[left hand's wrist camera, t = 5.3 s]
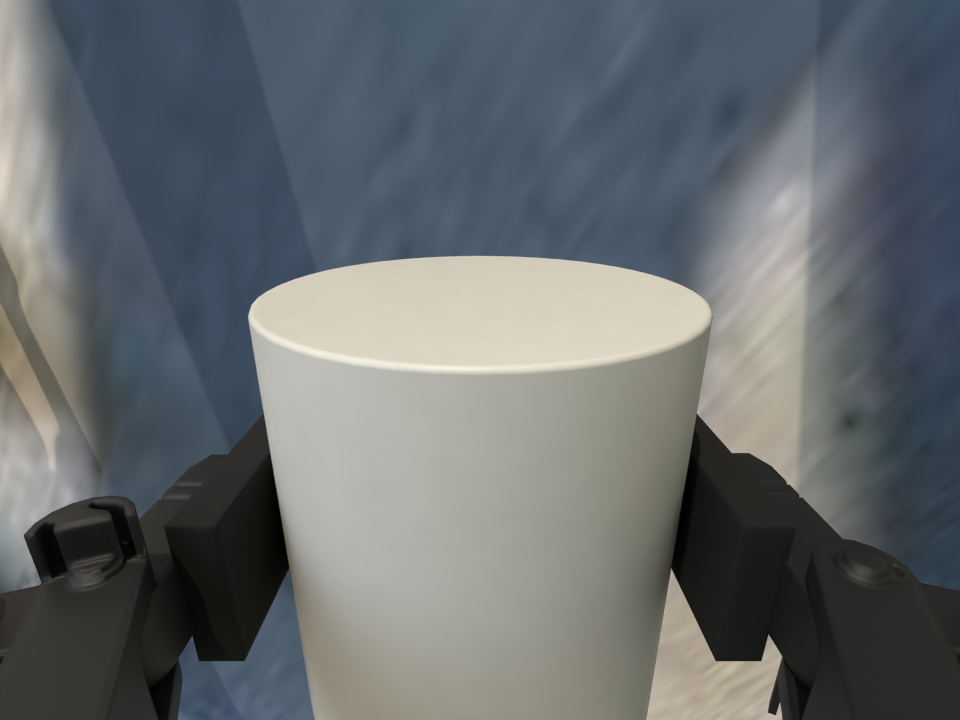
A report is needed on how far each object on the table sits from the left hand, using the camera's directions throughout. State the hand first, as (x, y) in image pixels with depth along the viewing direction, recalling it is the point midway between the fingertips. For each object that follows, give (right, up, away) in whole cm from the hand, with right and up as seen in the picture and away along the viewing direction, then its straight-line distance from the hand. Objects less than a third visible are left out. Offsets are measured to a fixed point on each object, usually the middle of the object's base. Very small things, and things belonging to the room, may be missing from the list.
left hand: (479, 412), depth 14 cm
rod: (0, -8, +3) cm, 8 cm away
